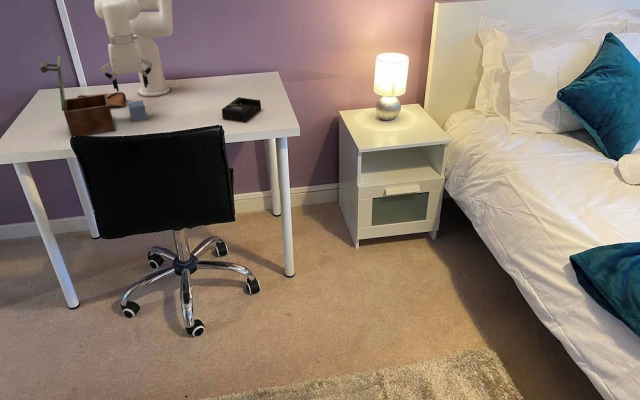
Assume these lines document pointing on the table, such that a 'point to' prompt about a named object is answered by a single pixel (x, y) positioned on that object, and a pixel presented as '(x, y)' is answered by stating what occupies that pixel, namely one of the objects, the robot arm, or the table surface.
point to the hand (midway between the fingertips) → (131, 88)
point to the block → (137, 110)
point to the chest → (89, 115)
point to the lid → (60, 75)
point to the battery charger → (241, 109)
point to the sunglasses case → (113, 99)
